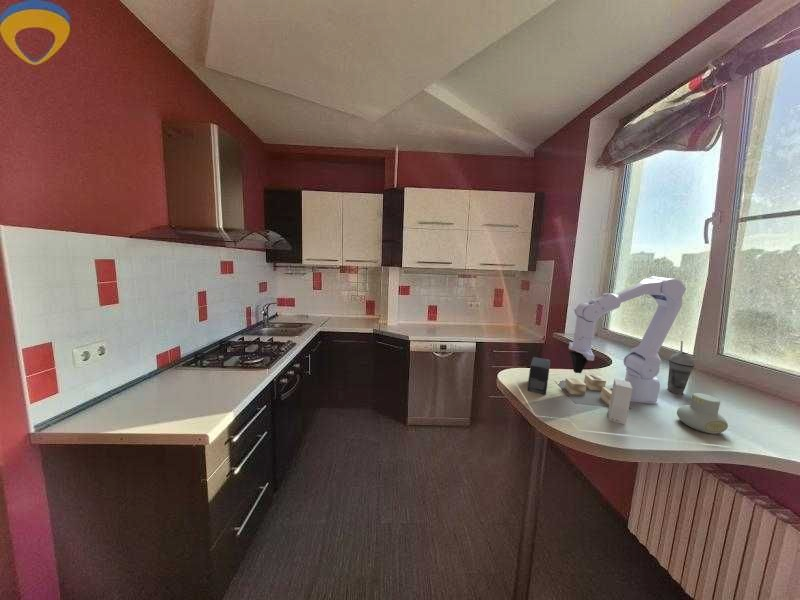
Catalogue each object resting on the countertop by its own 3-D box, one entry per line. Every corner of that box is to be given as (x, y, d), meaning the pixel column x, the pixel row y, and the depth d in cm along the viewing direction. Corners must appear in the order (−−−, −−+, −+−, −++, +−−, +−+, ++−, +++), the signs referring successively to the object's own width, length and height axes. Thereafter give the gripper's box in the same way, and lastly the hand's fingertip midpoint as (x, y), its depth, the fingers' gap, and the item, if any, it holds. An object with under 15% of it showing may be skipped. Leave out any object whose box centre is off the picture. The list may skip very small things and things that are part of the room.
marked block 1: (597, 385, 116) (598, 375, 116) (604, 391, 111) (606, 380, 111) (583, 383, 117) (585, 373, 116) (590, 389, 112) (592, 379, 111)
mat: (600, 384, 118) (600, 383, 118) (631, 410, 99) (631, 408, 99) (552, 380, 120) (552, 379, 119) (574, 404, 101) (574, 403, 101)
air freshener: (702, 420, 95) (709, 391, 93) (731, 436, 87) (739, 405, 85) (669, 419, 95) (675, 390, 93) (695, 435, 86) (702, 403, 85)
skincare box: (625, 425, 89) (633, 388, 87) (608, 421, 92) (615, 384, 90) (623, 416, 95) (630, 381, 92) (607, 412, 97) (613, 377, 95)
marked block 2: (615, 398, 106) (617, 387, 105) (624, 406, 101) (626, 394, 100) (600, 397, 106) (602, 386, 105) (608, 404, 101) (610, 393, 100)
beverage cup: (686, 397, 111) (698, 346, 107) (661, 389, 116) (671, 340, 113) (689, 392, 116) (700, 342, 112) (664, 385, 121) (674, 337, 118)
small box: (529, 381, 118) (532, 356, 116) (547, 385, 115) (551, 359, 113) (526, 391, 109) (530, 364, 107) (546, 396, 106) (550, 368, 104)
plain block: (578, 389, 112) (579, 379, 111) (584, 395, 107) (586, 385, 106) (564, 387, 112) (565, 377, 112) (570, 393, 108) (571, 383, 107)
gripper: (562, 330, 114) (557, 363, 116) (581, 341, 100) (575, 379, 102) (582, 331, 113) (576, 365, 115) (603, 343, 99) (596, 381, 101)
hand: (577, 372), depth 109 cm, fingers closed
